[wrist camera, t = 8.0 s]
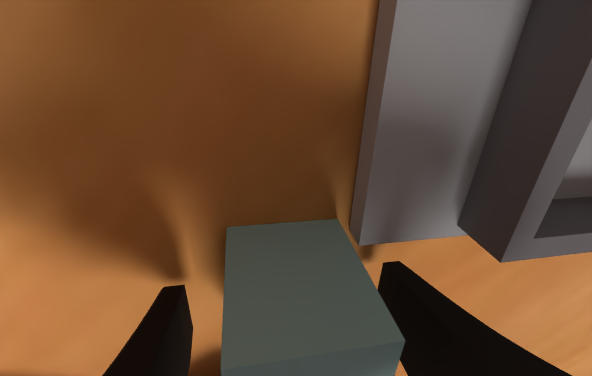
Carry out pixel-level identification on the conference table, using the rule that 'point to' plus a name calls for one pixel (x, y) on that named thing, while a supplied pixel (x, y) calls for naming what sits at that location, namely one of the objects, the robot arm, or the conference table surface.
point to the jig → (479, 126)
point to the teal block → (302, 305)
